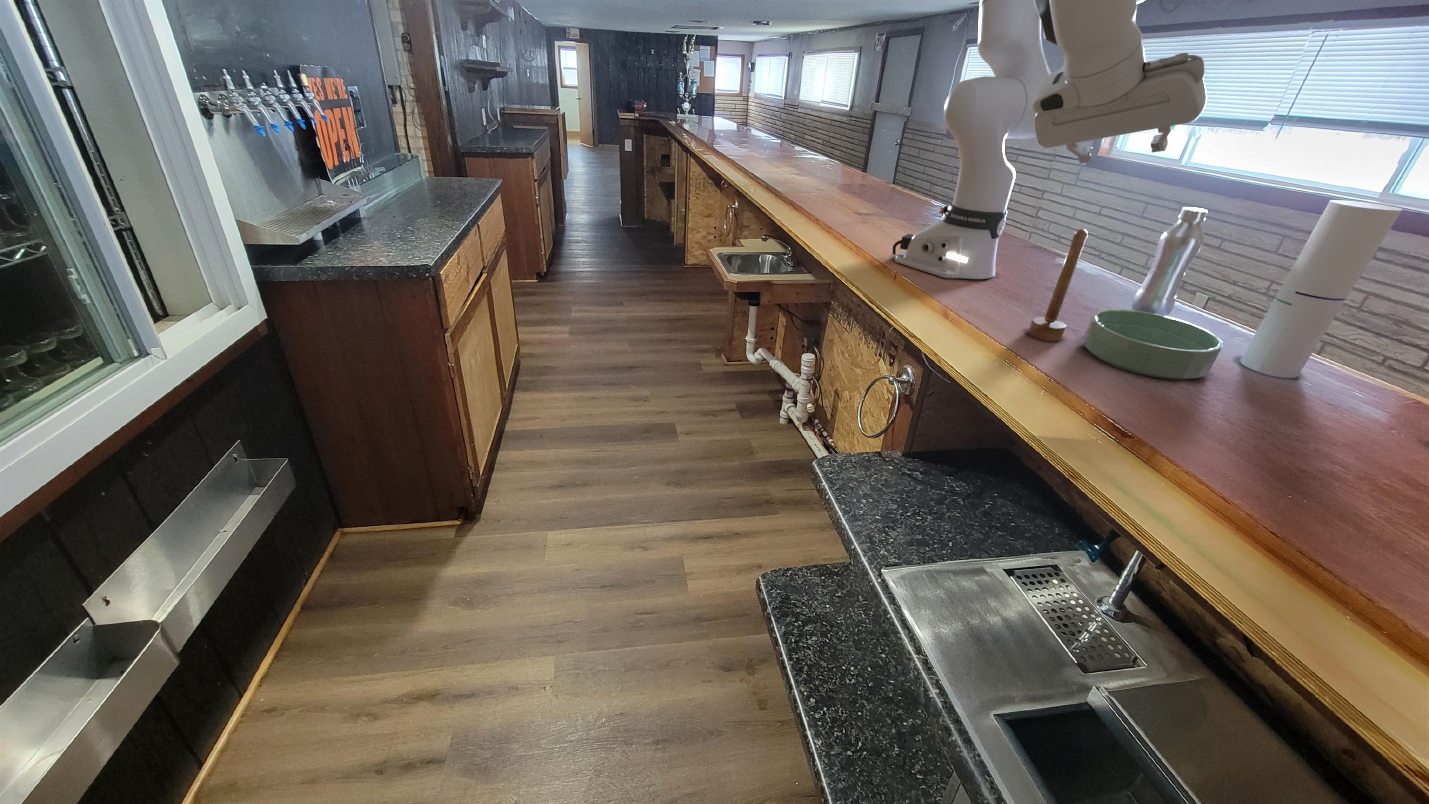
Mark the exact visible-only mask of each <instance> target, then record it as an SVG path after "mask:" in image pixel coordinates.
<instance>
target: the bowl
mask: <svg viewBox="0 0 1429 804" xmlns="http://www.w3.org/2000/svg"><path fill="white" fill-rule="evenodd" d="M1082 344H1083V346H1084V347H1085V348H1086V349H1087V350H1088V351H1089V352H1090V353H1091V354H1092V355H1093V356H1095V357H1096V358H1098V359H1099V360H1101V361H1103V362H1104V363H1107V364H1109V365H1111V366H1114V367H1117V368H1119V369H1122V370H1125V371H1128V372H1132V373H1135V374H1138V375H1142V376H1147V377H1153V378H1158V379H1159V378H1160V379H1166V380H1190V379H1198V378H1202V377H1205V376H1208V374H1209V373H1210V372H1211V370H1212V368H1213V365H1214V363H1215V361H1216V359H1217V358H1218V356H1219V354H1220V352H1221V350H1222V349H1223V347H1224V342H1223V340H1222V339H1221V338H1220V337H1219V336H1218V335H1216V334H1214V333H1213V332H1211V331H1210V330H1208V329H1205V328H1204V327H1202V326H1198V325H1196V324H1193V323H1190V322H1188V321H1185V320H1181V319H1178V318H1175V317H1171V316H1168V315H1167V316H1163V315H1159V314H1153V313H1148V312H1142V311H1134V310H1132V309H1122V308H1121V309H1119V308H1118V309H1102V310H1098V311H1096V312H1095V313H1093V314H1092V315H1091V317H1090V320H1089V322H1088V325H1087V327H1086V330H1085V333H1084V335H1083V337H1082Z"/></svg>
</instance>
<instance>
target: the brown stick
mask: <svg viewBox="0 0 1429 804" xmlns="http://www.w3.org/2000/svg"><path fill="white" fill-rule="evenodd" d="M1087 238H1088V231H1087V230H1086V229H1085V228H1079V229H1077V230H1076V231H1075V232H1074V233H1073V236H1072V240H1071V242H1070V246H1069V247H1068V250H1067V254H1066V256H1065V259H1064V261H1063V265H1062V268H1061V270H1060V273H1059V276H1058V278H1057V282H1056V284H1055V287H1054V290H1053V292H1052V296H1051V299H1050V301H1049V304H1048V306H1047V310H1046V313H1045V315H1044V316H1037V317H1033V318H1032V320H1031V323H1030V325H1029V328H1028V331H1027V333H1028V335H1029V336H1030V337H1032V338H1034V339H1037V340H1040V341H1046V342H1060V341H1062V338H1063V335H1064V332H1065V330H1066V328H1067V325H1066V324H1065V323H1064V322H1063V321H1061V320H1058V316H1059V314H1060V311H1061V308H1062V305H1063V304H1064V301H1065V298H1066V295H1067V292H1068V289H1069V286H1070V284H1071V281H1072V279H1073V275H1074V273H1075V269H1076V267H1077V265H1078V261H1079V259H1080V256H1081V254H1082V251H1083V248H1084V246H1085V243H1086V240H1087Z"/></svg>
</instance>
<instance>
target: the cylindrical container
mask: <svg viewBox="0 0 1429 804" xmlns="http://www.w3.org/2000/svg"><path fill="white" fill-rule="evenodd" d="M1402 212H1403V208H1400V207H1397V206H1393V205H1387V204H1382V203H1381V204H1380V203H1375V202H1374V203H1373V202H1366V201H1356V200H1345V199H1330V200H1329V202H1328V203H1327V205H1326V207H1325V209H1324V210H1323V212H1322V214H1321V216H1320V218H1319V219H1318V221H1317V223H1316V225H1315V227H1314V228H1313V230H1312V232H1311V233H1310V236H1309V237H1308V239H1307V240H1306V241H1305V242H1306V243H1305V244H1304V246H1303V248H1302V249H1301V251H1300V253H1299V255H1298V256H1297V259H1296V260H1295V262H1294V263H1293V265H1292V267H1291V269H1290V270H1289V272H1288V274H1287V276H1286V278H1285V280H1284V282H1283V283H1282V285H1281V287H1280V288H1279V290H1278V292H1277V293H1276V295H1275V298H1274V299H1273V301H1272V303H1271V304H1270V306H1269V308H1268V310H1267V311H1266V313H1265V315H1264V317H1263V318H1262V321H1261V322H1260V323H1259V326H1258V327H1257V329H1256V331H1255V333H1254V335H1253V337H1252V338H1251V340H1250V341H1249V344H1248V345H1247V348H1246V349H1245V350H1244V353H1243V354H1242V356H1241V358H1240V359H1239V363H1240V364H1241V365H1243V366H1244V367H1245V368H1248V369H1249V370H1252V371H1255V372H1258V373H1261V374H1264V375H1268V376H1271V377H1275V378H1276V377H1277V378H1284V379H1294V378H1297V377H1298V376H1299V375H1300V373H1301V372H1302V370H1303V369H1304V367H1305V366H1306V364H1307V362H1308V360H1310V357H1311V356H1312V354H1313V352H1314V351H1315V350H1316V348H1317V347H1318V345H1319V343H1320V341H1321V340H1322V338H1323V337H1324V335H1325V333H1326V332H1327V331H1328V328H1329V327H1330V325H1332V322H1333V321H1334V320H1335V318H1336V316H1337V314H1338V313H1339V311H1340V310H1341V308H1342V307H1343V305H1344V304H1345V302H1346V300H1347V298H1348V297H1349V296H1350V294H1351V292H1352V291H1353V289H1354V288H1355V286H1356V284H1357V283H1358V281H1359V279H1360V278H1361V276H1362V275H1363V273H1364V272H1365V270H1366V269H1367V267H1368V265H1369V264H1370V263H1371V261H1372V259H1373V258H1374V256H1375V254H1376V252H1377V251H1378V249H1379V248H1380V246H1381V245H1382V243H1383V241H1384V240H1385V238H1386V237H1387V235H1388V233H1389V232H1390V231H1391V229H1392V227H1393V226H1394V224H1395V223H1396V221H1397V219H1398V218H1399V216H1400V215H1401V213H1402Z"/></svg>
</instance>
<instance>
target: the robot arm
mask: <svg viewBox="0 0 1429 804" xmlns="http://www.w3.org/2000/svg"><path fill="white" fill-rule="evenodd" d="M1144 1H1145V0H979V7H978V28H977V29H978V31H977V51H978V54H979V56H980V58H981V59H982V60H983V61H984V62H985V63H986V64H987V65H988V67H990V69H991V71H992V73H993V75H994V76H986V75H985V76H980V77H979V76H978V77H974V78H970V79H966V80H965V79H964V80H962V81H960V82H959V83H957V84H956V85H955V86H954V87H953V88H952V89H951V91H950V93H949V94H948V96H947V97H946V100H945V103H944V107H943V121H944V124H945V126H946V129H947V130H948V131H949V132H950V133H951V135H952V136H953V138H954V140H955V143H956V145H957V150H958V156H959V169H958V177H957V181H956V186H955V192H954V196H953V200H952V202H951V203H950V204H948V205H946V206H943V207H941V208H939V210H940V211H938V212H939V213H938V214H940V215H941V218H940V220H938V221H936V222H934V223H932V224H931V225H929V226H927V227H925V228H924V229H922V230H919V231H918V232H917V233H915V234H911V233H907V234H905V235H903V236H902V237H901V239H900V240H897V241H896V242H895V243H894V244H893V246H892V255H893V256H895V258H894V262H895V263H898V264H901V265H904V266H907V267H910V268H913V269H915V270H919V271H922V272H925V273H927V274H928V273H929V274H931V275H934V276H937V277H939V278H940V277H941V278H944V279H966V280H986V279H987V280H988V279H991V278H994V277H996V258H997V252H998V251H997V250H998V244H999V239H1000V237H1001V236H1002V234H1003V231H1004V228H1005V225H1006V220H1007V215H1008V210H1007V208H1008V205H1009V201H1010V198H1011V193H1012V190H1013V188H1014V187H1013V186H1014V183H1015V179H1016V169H1015V168H1014V166H1013V165H1012V163H1010V162H1009V161H1008V160H1007V158H1006V155H1005V141H1006V140H1007V139H1009V140H1016V139H1017V140H1026V139H1032V138H1033V139H1034V138H1036V141H1037V143H1038V145H1039V146H1041V147H1043V148H1045V149H1051V148H1055V147H1061V146H1062V147H1063V146H1066V150H1068V151H1070V152H1071V153H1072V154H1073V155H1074V156H1076V157H1077V159H1078V162H1079V163H1078V164H1087V163H1091V162H1092V161H1093V159H1094V155H1095V154H1094V151H1093V150H1094V149H1093V146H1091V145H1090V146H1086V145H1085V144H1084V143H1083V142H1088V141H1095V140H1100V139H1106V138H1111V137H1117V136H1123V135H1127V134H1128V135H1129V134H1134V133H1139V132H1144V131H1149V130H1150V131H1151V130H1156V129H1157V133H1158V134H1155V135H1154V136H1153V137H1152V141H1151V142H1150V148H1151V153H1159V152H1165V151H1166V149H1167V147H1168V143H1169V140H1168V136H1169V135H1170V133H1171V131H1172V129H1173V127H1174V126H1178V125H1185V124H1189V123H1193V122H1195V121H1196V120H1197V119H1198V118H1199V117H1200V116H1201V115H1202V113H1203V111H1204V110H1205V107H1206V104H1207V100H1208V95H1207V89H1206V84H1205V81H1204V77H1205V73H1206V72H1205V71H1206V70H1205V62H1204V58H1203V57H1201V56H1199V55H1197V54H1189V52H1182V53H1177V54H1174V55H1173V56H1169V57H1164V58H1163V57H1162V58H1158V59H1154V60H1150V61H1147V59H1146V51H1145V47H1144V39H1143V33H1142V31H1141V29H1140V28H1139V26H1138V24H1137V21H1136V15H1137V10H1138V4H1140V3H1143V2H1144ZM1042 29H1043V38H1044V40H1045V41H1048V42H1049V43H1051V44H1053V45H1056V46H1058V48H1059V49H1060V50H1061V52H1062V55H1063V65H1062V66H1061V67H1059V68H1057V69H1056V70H1054V71H1052V72H1051V69H1050V67H1049V65H1048V62H1047V59H1046V55H1045V52H1044V48H1043V41H1042ZM898 245H899V249H900V250H904V251H902V252H900V253H898V254H897V247H898Z"/></svg>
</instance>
